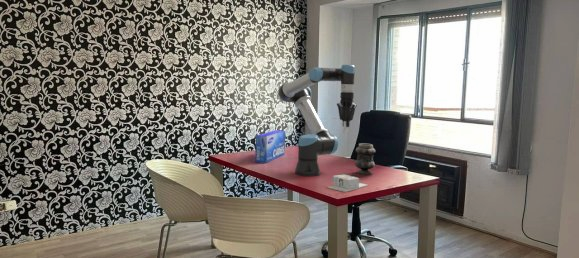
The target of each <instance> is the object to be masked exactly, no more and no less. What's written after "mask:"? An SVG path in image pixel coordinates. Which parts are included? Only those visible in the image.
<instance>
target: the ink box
mask: <svg viewBox="0 0 579 258" xmlns="http://www.w3.org/2000/svg"><path fill="white" fill-rule="evenodd" d="M359 183H360V178H359V177H356V176H352V175H348V174H345V173H343V174H336V175H332V186H334V185H337V186H340V187H344V188H347V189H350V188H356V187H359Z"/></svg>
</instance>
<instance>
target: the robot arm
mask: <svg viewBox="0 0 579 258" xmlns="http://www.w3.org/2000/svg"><path fill="white" fill-rule="evenodd" d="M320 82H340V91H341V92H340V102H337V103H336V106H337V109H338V116H339V120H340V121H342V128H343V130H342V131H343V132H342V133H344V134H345V133H346V134H347V133H349V127H350V122H351V121H353V119H354V115H355V111H356V108H357V106H358V105H357V104H355V103H354V96H355V95H354V91H355V65H354V64H342V65H341V67H340V68H335V67H312V68H310V69H309V71H308V72H307V73H306V74H303V75H302V76H299V77H298V78H296V79H294V80H292V81H290V82H285V83H283V84H282V85H280V86H279V88H278V92H277V95H278V97H279V99H280V100H281V101H283V102H284V103H293V105H294V106H295V108H298V109H299V111H300V113H301V115H302V117H303V119H304V120H305V123H306V124H307V127H308V128H309V131H310V132H311V133H310V134H309V133H308V134H303V135H301V136H299V138H298V151H297V152H298V154H297V155H298V157H297V163H296V166H295V169H294V174H296V175H298V176H303V177H315V176H319V175H321V169H320V165H319V163H318V158H319V157H318V156H326V155H331V154H332V155H333V154H335V153H336V152H337V151H338V148H339V140H338V137H337V136H336V135H334V134H332V133H330V130H329V129H326V128H325V126H324V124H323V123H322V121H321V119H320V117H319V115H318V112H317V111H316V109H315V108H314V106H313V104H312V102H311V101H312V97H313V95H312V94H313V93H312V89H311V88H310V87H311V86H313V85H315V84H317V83H320Z"/></svg>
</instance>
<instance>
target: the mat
mask: <svg viewBox="0 0 579 258" xmlns="http://www.w3.org/2000/svg"><path fill="white" fill-rule="evenodd" d="M365 187H368V184H365V183H361V182H359V187H356V188H350V189H347V188H344V187H340V186H337V185H331V186H330V185H329V186H328V188H327V189H331V190H334V191H338V192H343V193H347V192H351V191H354V190H357V189H361V188H365Z"/></svg>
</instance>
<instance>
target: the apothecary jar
mask: <svg viewBox="0 0 579 258" xmlns="http://www.w3.org/2000/svg"><path fill="white" fill-rule="evenodd" d="M355 152H356V153H357V157H356V160H355V162H354V165H355V166H356V168H358V169H359V170H357V171H356V174H357V175H364V176H365V175H366V176H369V175H373V172H372V171H371V169H374V168H375V166H376V164H375V162H374V154H375V153H376V149H375V148H374V145H373V144H371V143H366V142H365V143H364V142H363V143H358V147H356V149H355Z"/></svg>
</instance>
